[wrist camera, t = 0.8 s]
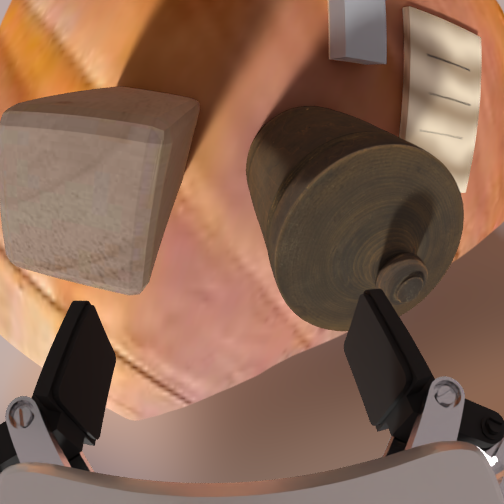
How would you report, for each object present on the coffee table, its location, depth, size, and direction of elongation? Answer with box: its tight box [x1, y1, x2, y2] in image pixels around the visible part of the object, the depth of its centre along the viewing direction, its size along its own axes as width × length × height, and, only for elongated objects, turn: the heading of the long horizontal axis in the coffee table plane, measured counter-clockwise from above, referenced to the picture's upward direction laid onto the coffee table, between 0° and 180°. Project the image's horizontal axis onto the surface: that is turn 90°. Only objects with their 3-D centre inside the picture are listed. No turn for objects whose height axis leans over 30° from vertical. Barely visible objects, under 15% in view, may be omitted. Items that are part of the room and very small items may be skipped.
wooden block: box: [0, 86, 200, 295], centre depth 21 cm, size 10×10×20 cm
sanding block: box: [328, 0, 387, 65], centre depth 22 cm, size 8×4×5 cm, turn 1°
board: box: [399, 6, 481, 193], centre depth 28 cm, size 24×13×2 cm, turn 1°
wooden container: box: [246, 106, 464, 331], centre depth 24 cm, size 15×15×22 cm
